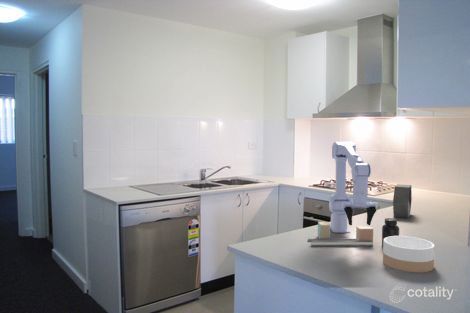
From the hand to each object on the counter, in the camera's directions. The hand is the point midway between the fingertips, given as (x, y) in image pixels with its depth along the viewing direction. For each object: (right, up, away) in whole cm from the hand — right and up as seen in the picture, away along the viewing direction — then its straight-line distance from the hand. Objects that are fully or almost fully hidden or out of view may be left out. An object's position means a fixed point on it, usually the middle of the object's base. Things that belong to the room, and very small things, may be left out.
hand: (359, 224), depth 157 cm
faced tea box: (+5, -10, +8) cm, 14 cm away
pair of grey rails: (-6, -10, +8) cm, 14 cm away
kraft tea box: (-11, -9, +15) cm, 21 cm away
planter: (+45, -6, +62) cm, 77 cm away
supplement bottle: (+14, -10, +3) cm, 17 cm away
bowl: (+12, -12, -17) cm, 24 cm away
